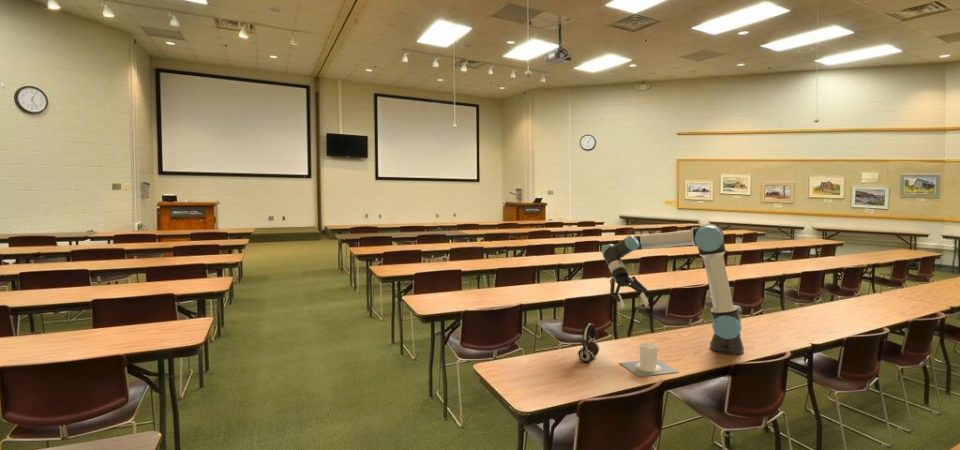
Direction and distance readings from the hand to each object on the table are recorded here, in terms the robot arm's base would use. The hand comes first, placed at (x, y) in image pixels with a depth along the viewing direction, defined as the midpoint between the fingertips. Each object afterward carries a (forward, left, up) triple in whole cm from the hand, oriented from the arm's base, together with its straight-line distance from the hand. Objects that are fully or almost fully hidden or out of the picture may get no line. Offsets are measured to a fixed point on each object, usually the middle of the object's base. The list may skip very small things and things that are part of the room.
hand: (635, 305), depth 225 cm
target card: (+5, +18, -24) cm, 30 cm away
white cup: (+5, +18, -24) cm, 30 cm away
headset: (+26, +1, -24) cm, 35 cm away
